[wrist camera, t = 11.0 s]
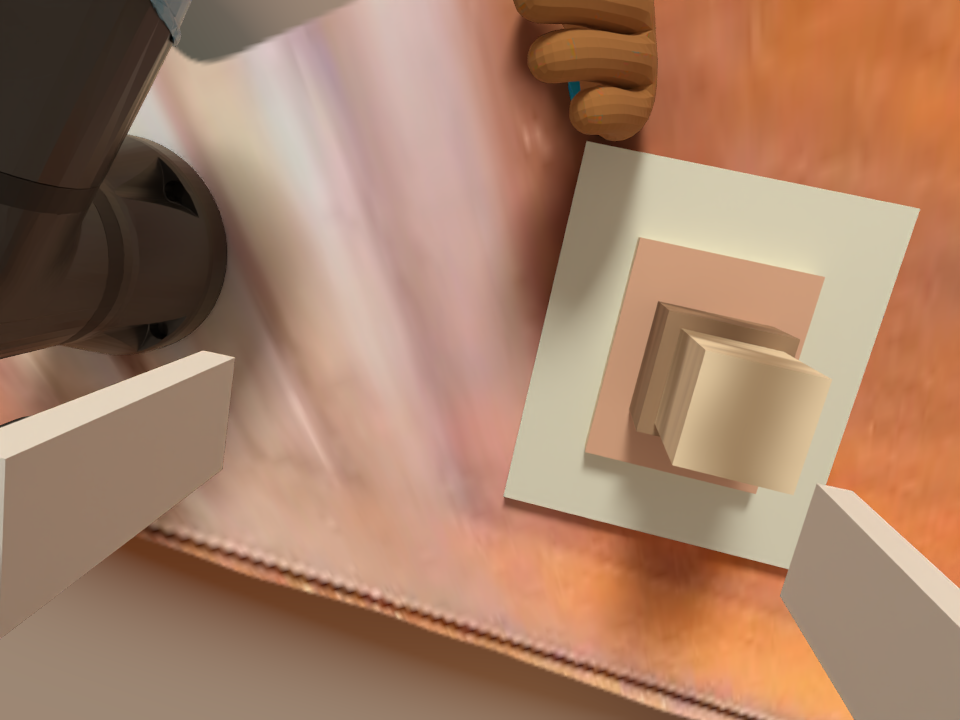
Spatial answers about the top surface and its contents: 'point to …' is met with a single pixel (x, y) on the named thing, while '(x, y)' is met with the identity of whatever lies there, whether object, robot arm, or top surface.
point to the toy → (598, 60)
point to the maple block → (740, 411)
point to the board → (706, 287)
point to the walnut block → (664, 345)
